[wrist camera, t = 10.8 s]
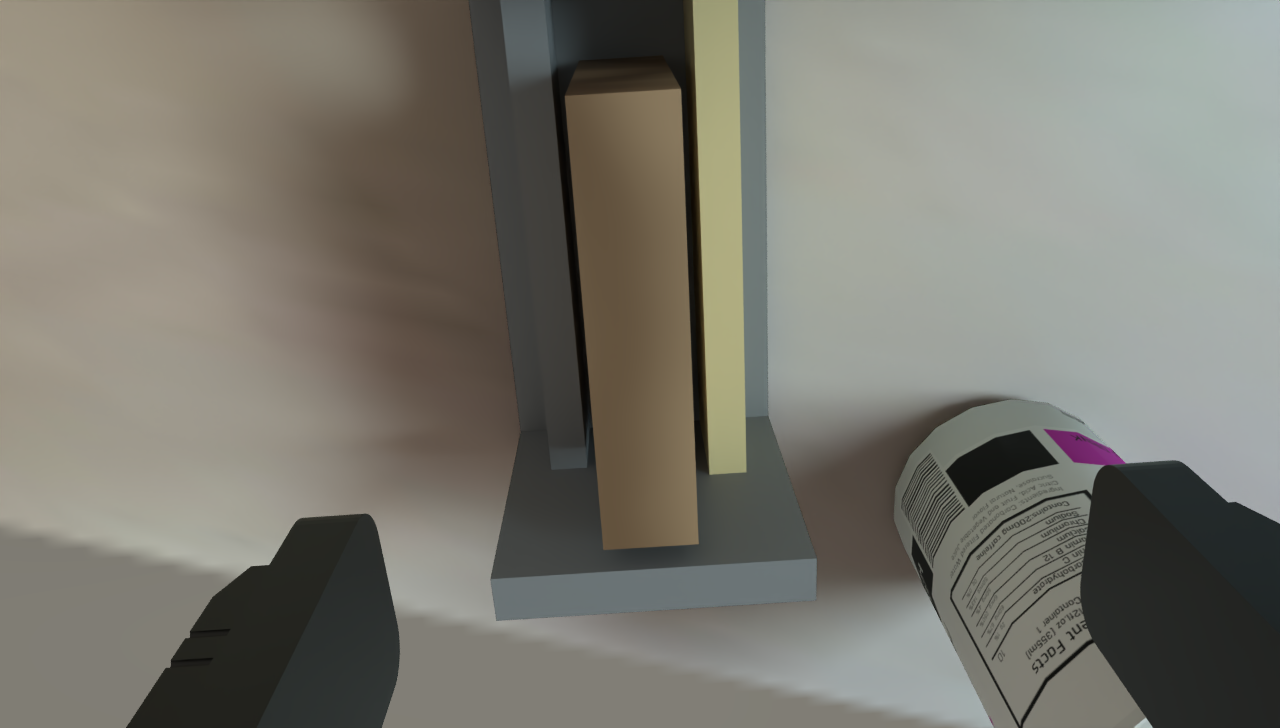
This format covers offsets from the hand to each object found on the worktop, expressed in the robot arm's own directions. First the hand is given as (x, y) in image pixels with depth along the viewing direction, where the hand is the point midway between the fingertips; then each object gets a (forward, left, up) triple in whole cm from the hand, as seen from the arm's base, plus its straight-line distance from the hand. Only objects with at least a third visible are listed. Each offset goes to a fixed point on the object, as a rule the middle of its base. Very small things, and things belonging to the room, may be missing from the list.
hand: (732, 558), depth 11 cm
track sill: (+1, +2, -23) cm, 23 cm away
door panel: (+1, +2, -22) cm, 22 cm away
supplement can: (-13, +13, -23) cm, 29 cm away
